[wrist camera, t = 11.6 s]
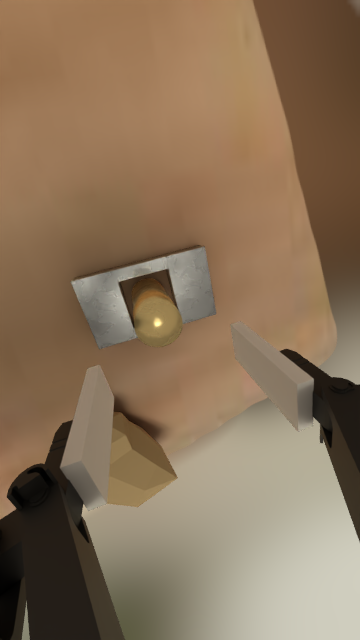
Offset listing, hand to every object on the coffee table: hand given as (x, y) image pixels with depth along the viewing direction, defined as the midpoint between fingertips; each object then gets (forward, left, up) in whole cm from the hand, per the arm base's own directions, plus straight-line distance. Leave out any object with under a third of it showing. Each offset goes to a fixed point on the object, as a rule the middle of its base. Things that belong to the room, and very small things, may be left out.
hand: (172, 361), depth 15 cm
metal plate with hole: (0, 0, -17) cm, 17 cm away
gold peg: (0, 0, -17) cm, 17 cm away
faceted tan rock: (-10, -21, -18) cm, 29 cm away
